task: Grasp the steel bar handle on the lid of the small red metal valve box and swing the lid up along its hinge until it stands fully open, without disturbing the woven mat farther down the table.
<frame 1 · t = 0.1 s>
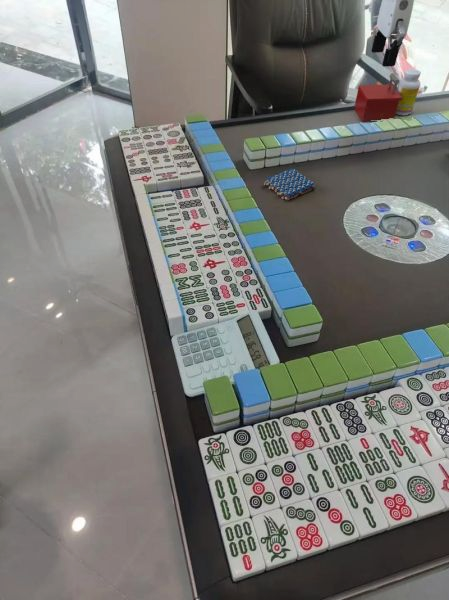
hand: (382, 58, 113), 24 cm above the table, tool pointing down, fingers open, 9 cm apart
woven mat: (289, 187, 117), on the table
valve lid: (381, 85, 138), point 9 cm above the table, hinge at 0.0°
supplement bottle: (400, 112, 146), on the table
valve box: (373, 114, 145), on the table
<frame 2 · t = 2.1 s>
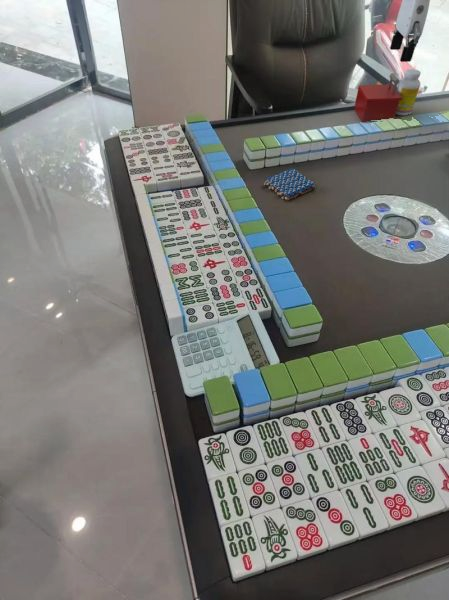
hand: (400, 55, 132), 18 cm above the table, tool pointing down, fingers open, 9 cm apart
nothing on the table moved.
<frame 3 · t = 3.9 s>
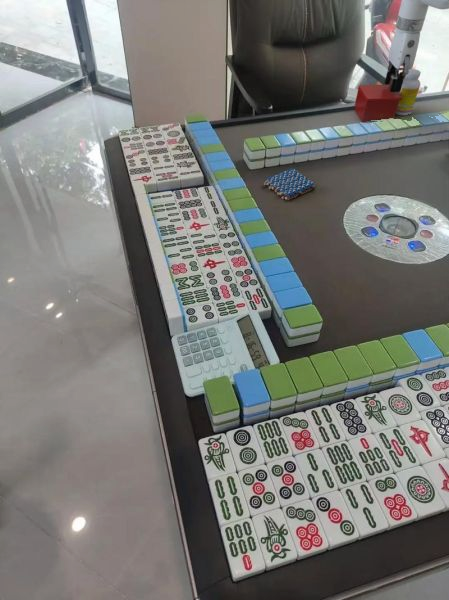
hand: (392, 87, 139), 9 cm above the table, tool pointing down, fingers closed on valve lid, 5 cm apart
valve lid: (381, 85, 138), point 9 cm above the table, hinge at 0.0°, touching gripper
everything else where it was.
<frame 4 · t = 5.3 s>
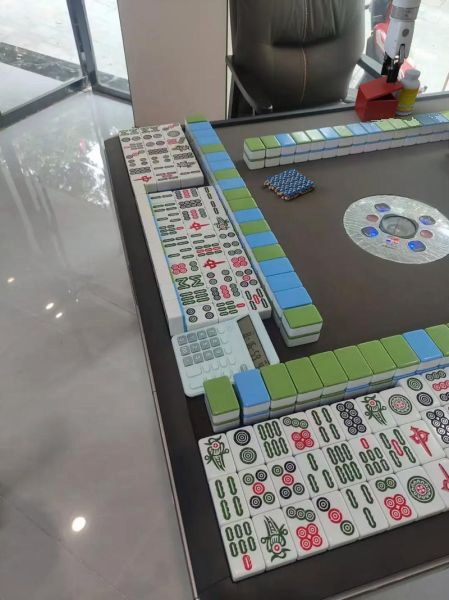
hand: (388, 78, 137), 12 cm above the table, tool pointing down, fingers closed on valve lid, 5 cm apart
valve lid: (379, 79, 137), point 11 cm above the table, hinge at 19.0°, touching gripper
everything else where it was.
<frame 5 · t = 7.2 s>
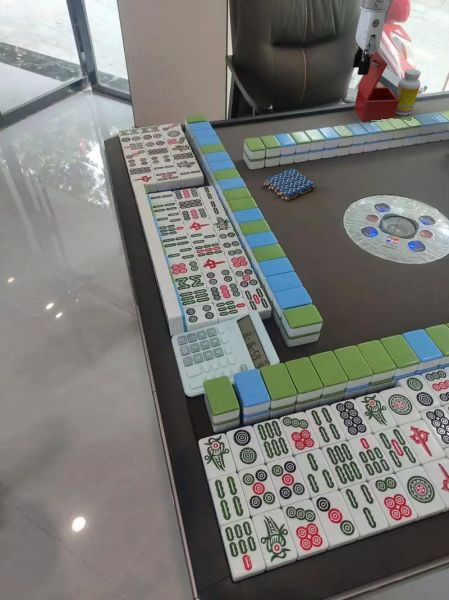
hand: (360, 70, 134), 14 cm above the table, tool pointing down, fingers closed on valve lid, 5 cm apart
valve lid: (365, 73, 135), point 13 cm above the table, hinge at 73.0°, touching gripper
everything else where it was.
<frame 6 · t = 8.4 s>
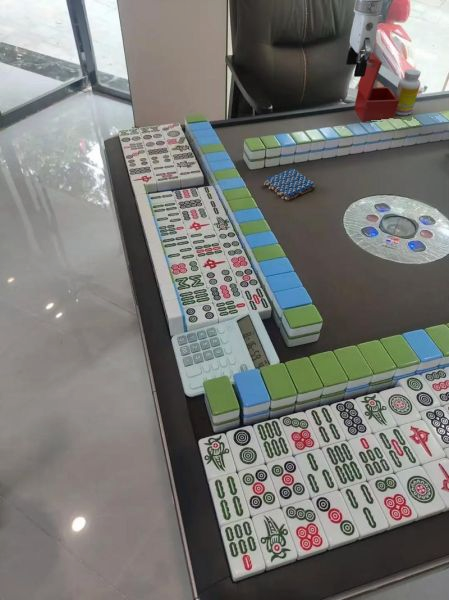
hand: (354, 70, 134), 14 cm above the table, tool pointing down, fingers open, 9 cm apart
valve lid: (362, 74, 135), point 13 cm above the table, hinge at 82.5°
everything else where it was.
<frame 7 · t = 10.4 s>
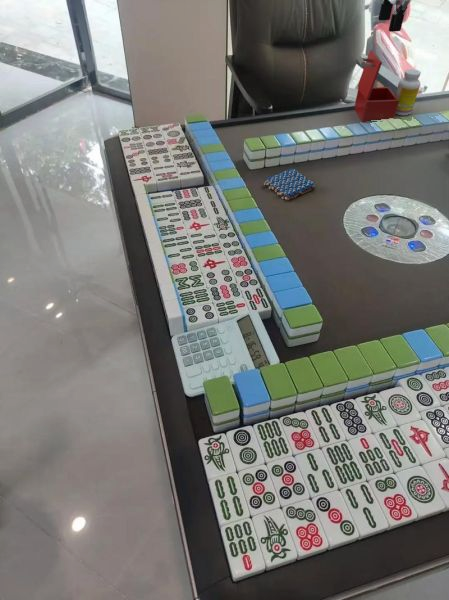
hand: (388, 25, 121), 28 cm above the table, tool pointing down, fingers open, 9 cm apart
nothing on the table moved.
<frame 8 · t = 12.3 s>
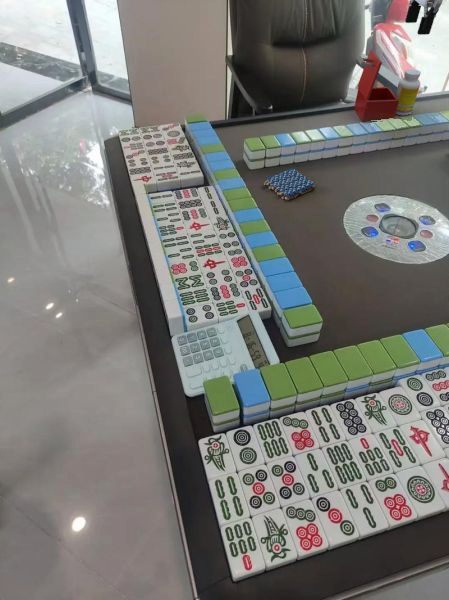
hand: (416, 28, 118), 28 cm above the table, tool pointing down, fingers open, 9 cm apart
nothing on the table moved.
at the end: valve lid at +82° (first picture: +0°); woven mat moved 0.2 cm from its start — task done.
